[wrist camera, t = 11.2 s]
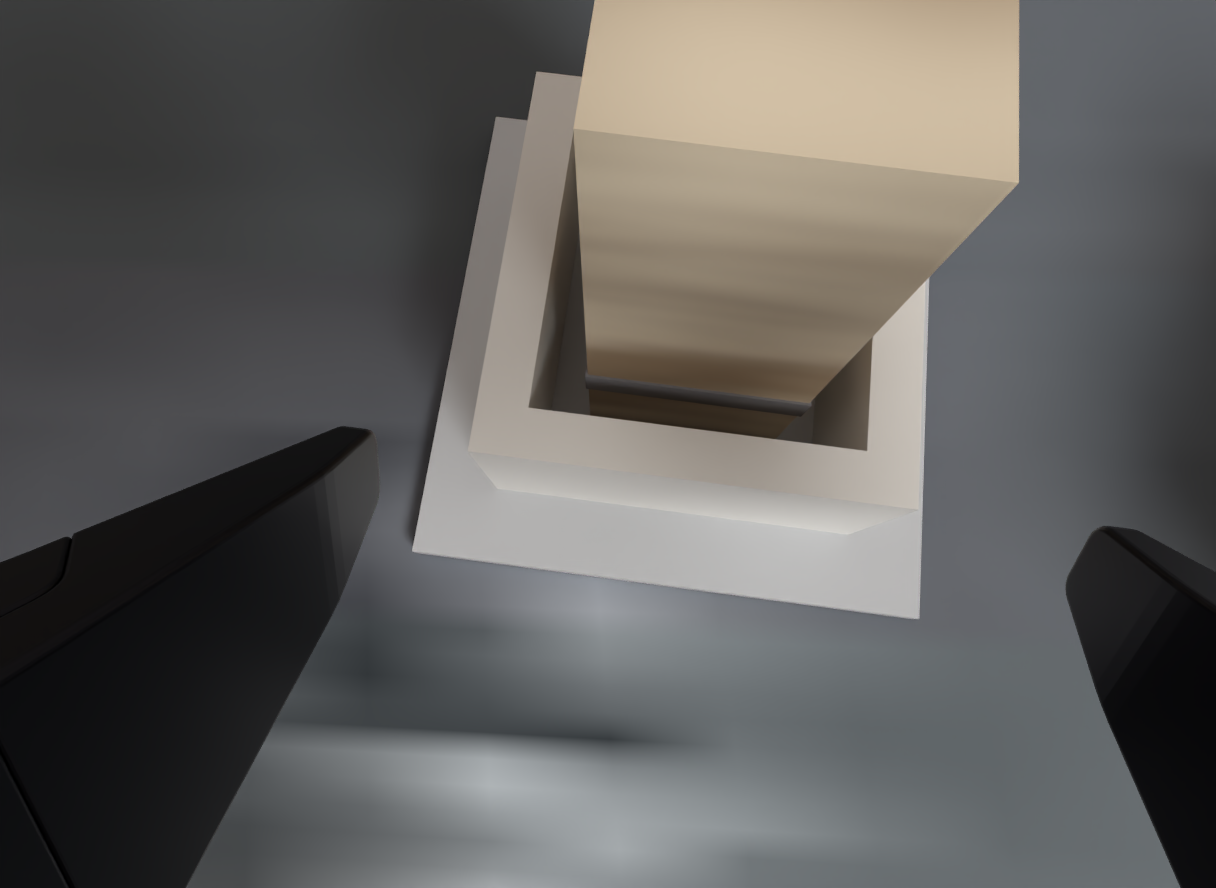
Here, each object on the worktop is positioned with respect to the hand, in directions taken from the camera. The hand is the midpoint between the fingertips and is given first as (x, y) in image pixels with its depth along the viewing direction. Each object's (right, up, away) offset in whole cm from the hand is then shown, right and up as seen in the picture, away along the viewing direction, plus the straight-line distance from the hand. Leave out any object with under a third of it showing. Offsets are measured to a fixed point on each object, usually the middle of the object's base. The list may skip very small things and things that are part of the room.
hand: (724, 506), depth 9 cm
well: (+1, +3, +10) cm, 10 cm away
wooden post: (+1, +3, +9) cm, 10 cm away
